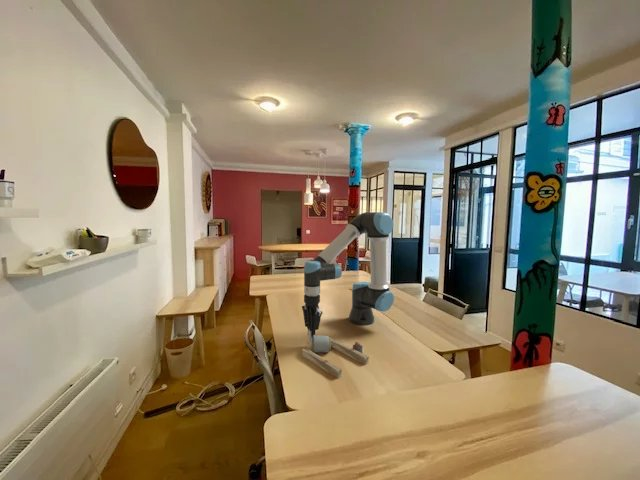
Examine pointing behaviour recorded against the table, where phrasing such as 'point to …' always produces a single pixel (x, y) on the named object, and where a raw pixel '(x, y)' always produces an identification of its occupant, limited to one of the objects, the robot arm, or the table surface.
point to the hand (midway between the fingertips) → (311, 342)
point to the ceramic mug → (321, 343)
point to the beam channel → (352, 352)
